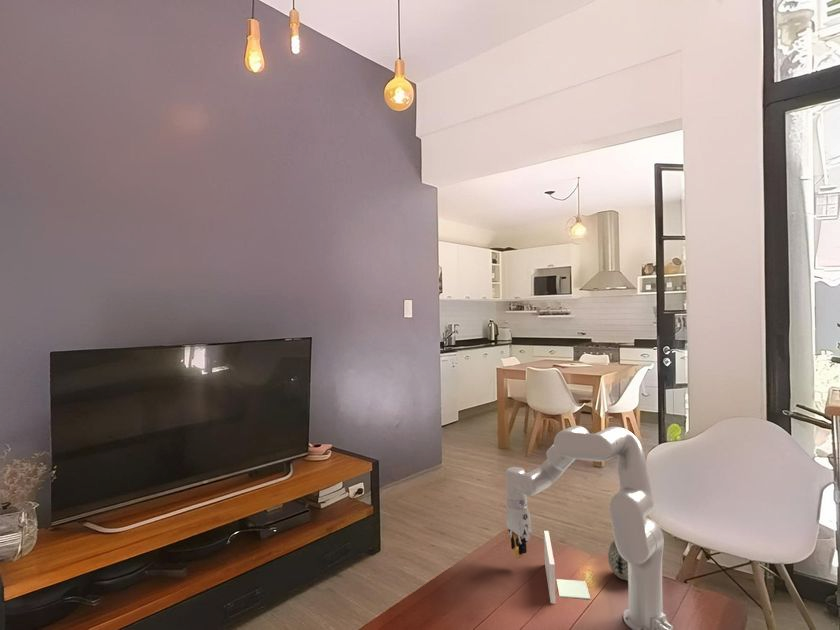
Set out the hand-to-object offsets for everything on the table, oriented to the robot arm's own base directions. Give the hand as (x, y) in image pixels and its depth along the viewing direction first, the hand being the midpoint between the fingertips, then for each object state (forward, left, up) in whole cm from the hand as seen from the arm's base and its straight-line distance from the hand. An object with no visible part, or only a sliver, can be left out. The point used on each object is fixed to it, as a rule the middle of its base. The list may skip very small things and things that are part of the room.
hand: (518, 550), depth 178 cm
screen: (-12, -4, -7) cm, 15 cm away
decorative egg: (-22, -30, -7) cm, 38 cm away
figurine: (+1, 0, -3) cm, 3 cm away
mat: (-19, -9, -7) cm, 22 cm away
